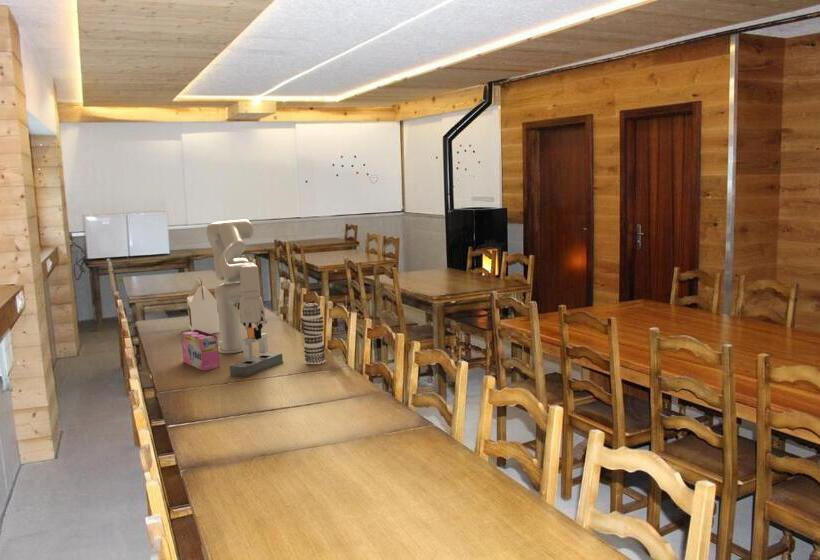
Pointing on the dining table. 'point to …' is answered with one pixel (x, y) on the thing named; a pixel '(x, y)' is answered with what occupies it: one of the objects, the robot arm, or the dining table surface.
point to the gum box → (200, 349)
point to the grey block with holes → (255, 364)
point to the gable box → (202, 309)
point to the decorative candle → (313, 333)
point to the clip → (247, 342)
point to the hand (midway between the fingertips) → (254, 338)
